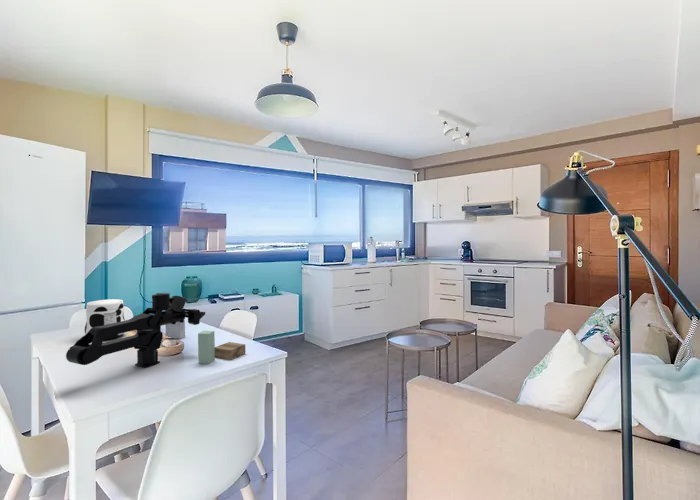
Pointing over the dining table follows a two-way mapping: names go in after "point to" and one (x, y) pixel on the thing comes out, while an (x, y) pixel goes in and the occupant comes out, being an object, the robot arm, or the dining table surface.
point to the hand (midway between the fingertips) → (197, 311)
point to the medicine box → (176, 330)
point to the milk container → (104, 314)
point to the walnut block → (229, 350)
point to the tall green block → (206, 347)
